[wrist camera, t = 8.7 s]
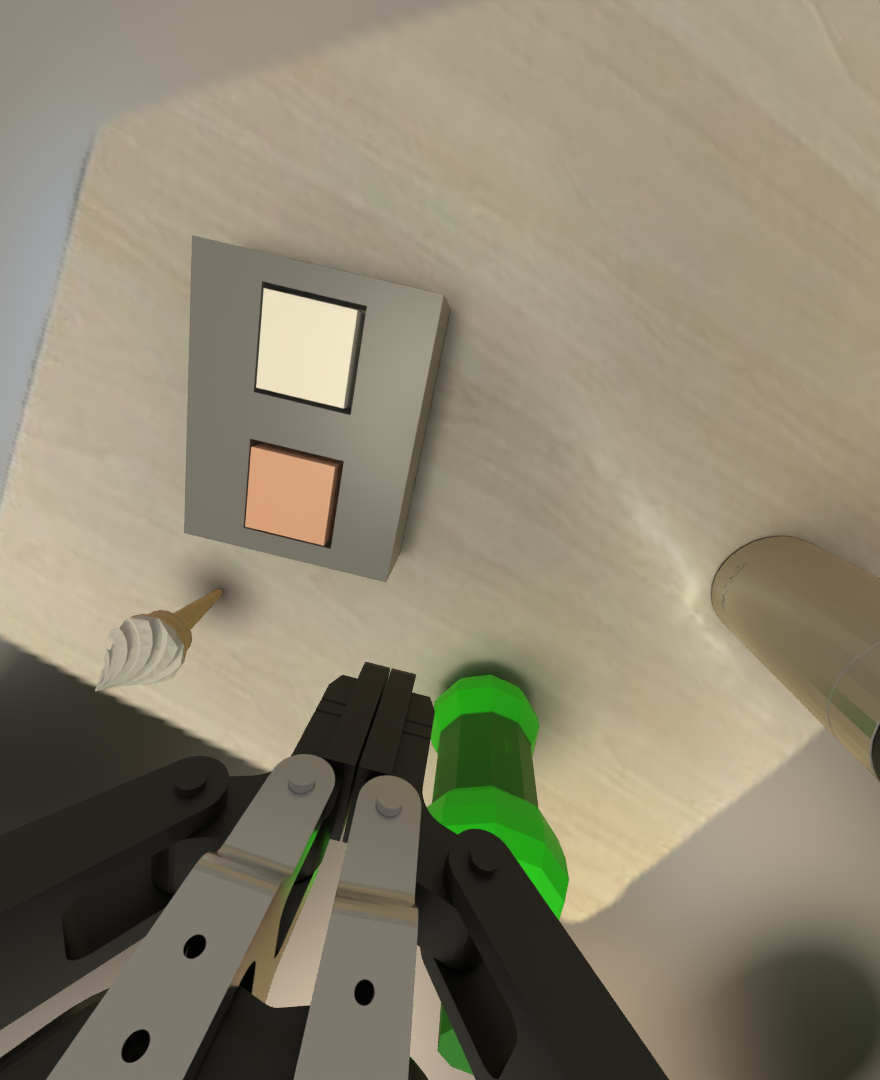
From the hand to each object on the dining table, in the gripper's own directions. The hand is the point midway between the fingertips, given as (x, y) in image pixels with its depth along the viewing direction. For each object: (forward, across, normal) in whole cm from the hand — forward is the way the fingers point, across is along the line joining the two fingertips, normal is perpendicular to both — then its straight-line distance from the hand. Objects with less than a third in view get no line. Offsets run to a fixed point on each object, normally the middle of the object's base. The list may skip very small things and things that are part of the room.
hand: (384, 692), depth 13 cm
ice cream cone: (+27, +19, +15) cm, 36 cm away
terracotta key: (+23, +11, +2) cm, 26 cm away
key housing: (+27, +11, -3) cm, 29 cm away
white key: (+23, +11, -8) cm, 27 cm away
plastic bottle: (+27, -8, +20) cm, 34 cm away
